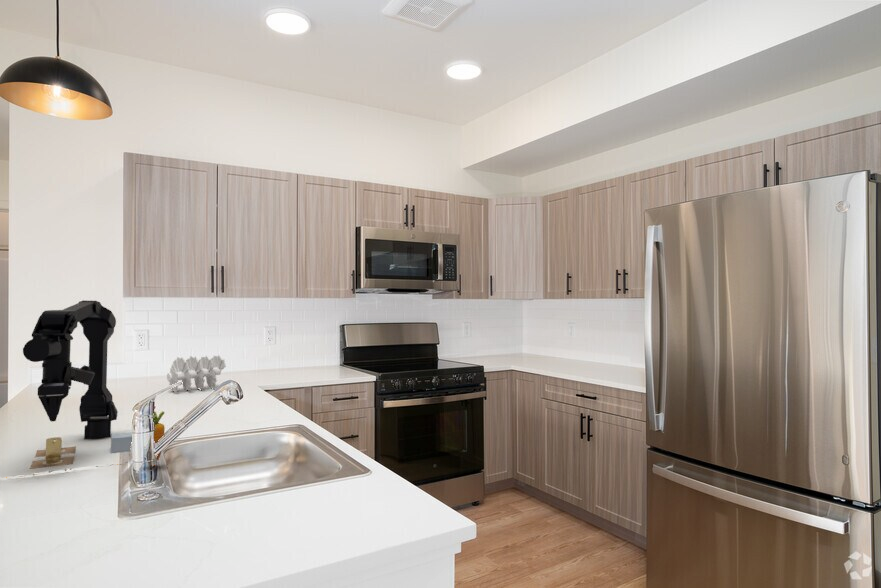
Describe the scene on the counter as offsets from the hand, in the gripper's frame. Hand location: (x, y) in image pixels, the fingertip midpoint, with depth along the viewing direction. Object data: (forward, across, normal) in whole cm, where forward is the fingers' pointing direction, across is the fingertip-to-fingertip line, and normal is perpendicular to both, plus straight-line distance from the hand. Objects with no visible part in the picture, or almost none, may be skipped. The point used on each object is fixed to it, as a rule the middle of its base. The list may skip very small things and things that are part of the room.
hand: (54, 418), depth 138 cm
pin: (+11, 0, 0) cm, 11 cm away
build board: (+12, 0, 0) cm, 12 cm away
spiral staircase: (+13, +118, -50) cm, 129 cm away
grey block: (+12, +6, -16) cm, 21 cm away
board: (+12, +12, 0) cm, 17 cm away
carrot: (+13, -14, -22) cm, 29 cm away
